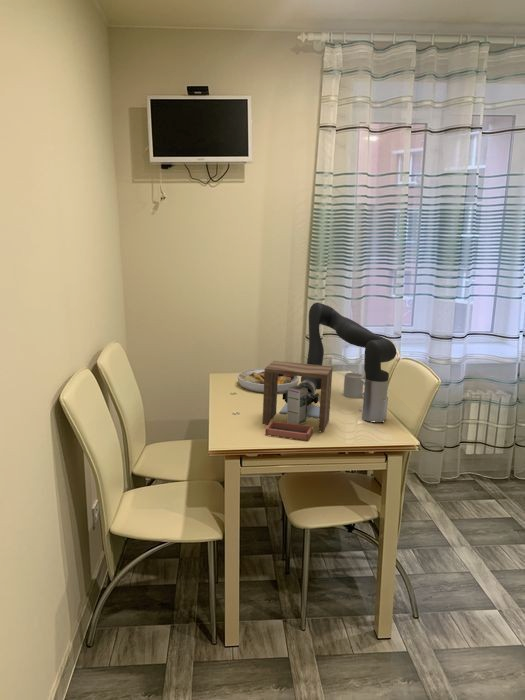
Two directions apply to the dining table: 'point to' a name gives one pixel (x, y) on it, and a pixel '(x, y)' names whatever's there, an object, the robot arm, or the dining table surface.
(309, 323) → the robot arm
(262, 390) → the bowl
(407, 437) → the dining table surface
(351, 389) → the mug
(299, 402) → the syrup box
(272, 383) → the walnut tunnel
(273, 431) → the tray
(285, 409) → the pad
